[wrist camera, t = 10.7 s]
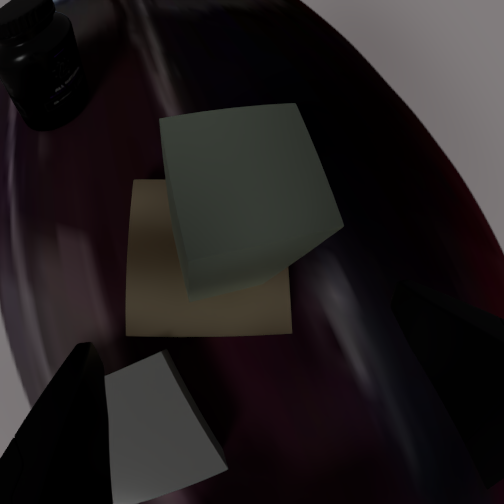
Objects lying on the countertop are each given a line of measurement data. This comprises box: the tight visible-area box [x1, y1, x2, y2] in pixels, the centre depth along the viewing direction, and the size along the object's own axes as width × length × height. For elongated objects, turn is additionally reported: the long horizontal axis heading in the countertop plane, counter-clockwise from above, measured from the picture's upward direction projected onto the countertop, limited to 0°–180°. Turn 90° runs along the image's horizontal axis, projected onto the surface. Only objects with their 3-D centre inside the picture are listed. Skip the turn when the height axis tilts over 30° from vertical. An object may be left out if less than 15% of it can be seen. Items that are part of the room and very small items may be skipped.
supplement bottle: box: [0, 0, 89, 131], centre depth 17 cm, size 7×7×12 cm
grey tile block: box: [104, 349, 228, 504], centre depth 17 cm, size 8×8×4 cm
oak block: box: [126, 180, 292, 337], centre depth 21 cm, size 10×10×3 cm
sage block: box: [159, 103, 344, 302], centre depth 14 cm, size 5×5×11 cm
